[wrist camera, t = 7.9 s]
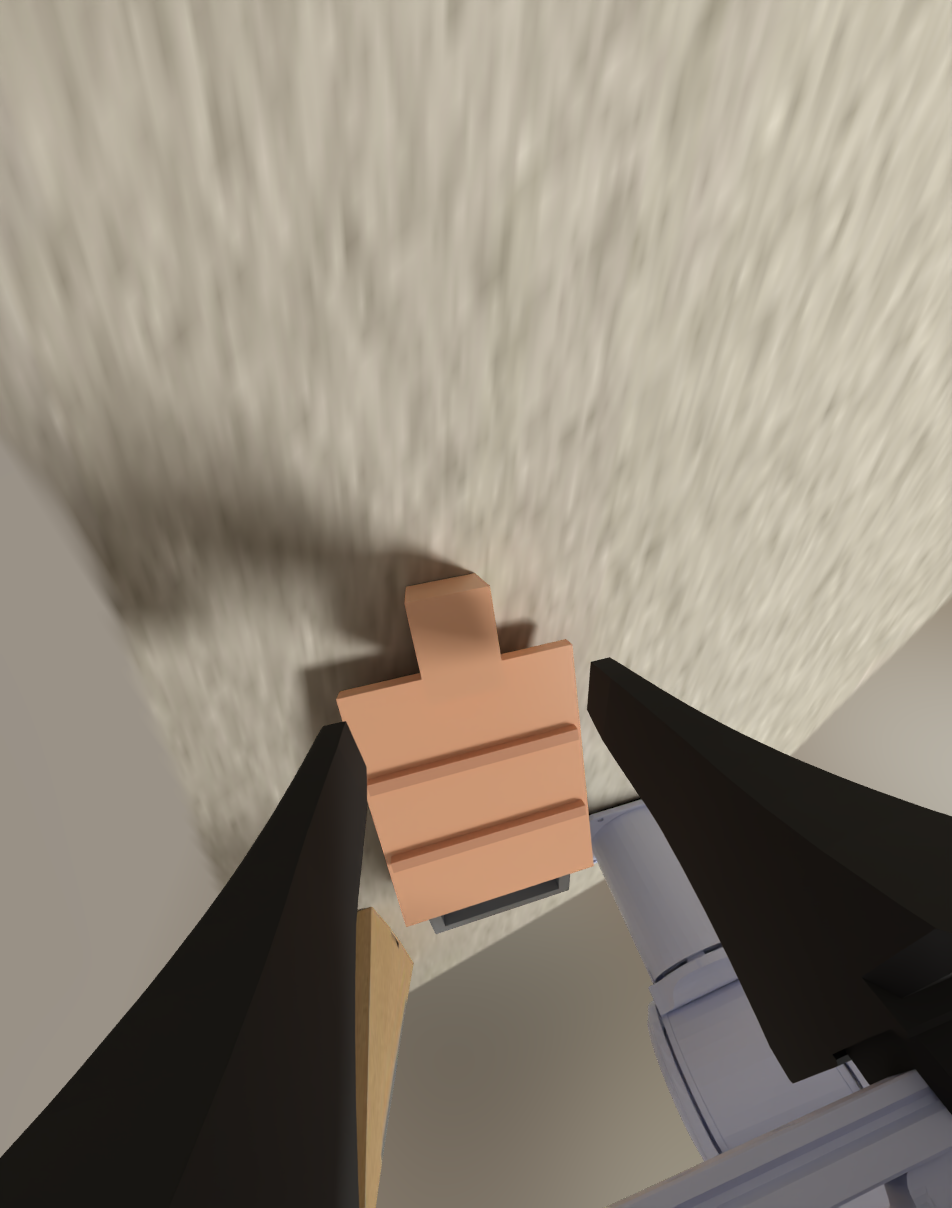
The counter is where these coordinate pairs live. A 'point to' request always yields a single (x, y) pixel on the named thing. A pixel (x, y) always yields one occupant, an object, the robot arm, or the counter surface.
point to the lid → (472, 758)
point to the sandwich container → (376, 1040)
